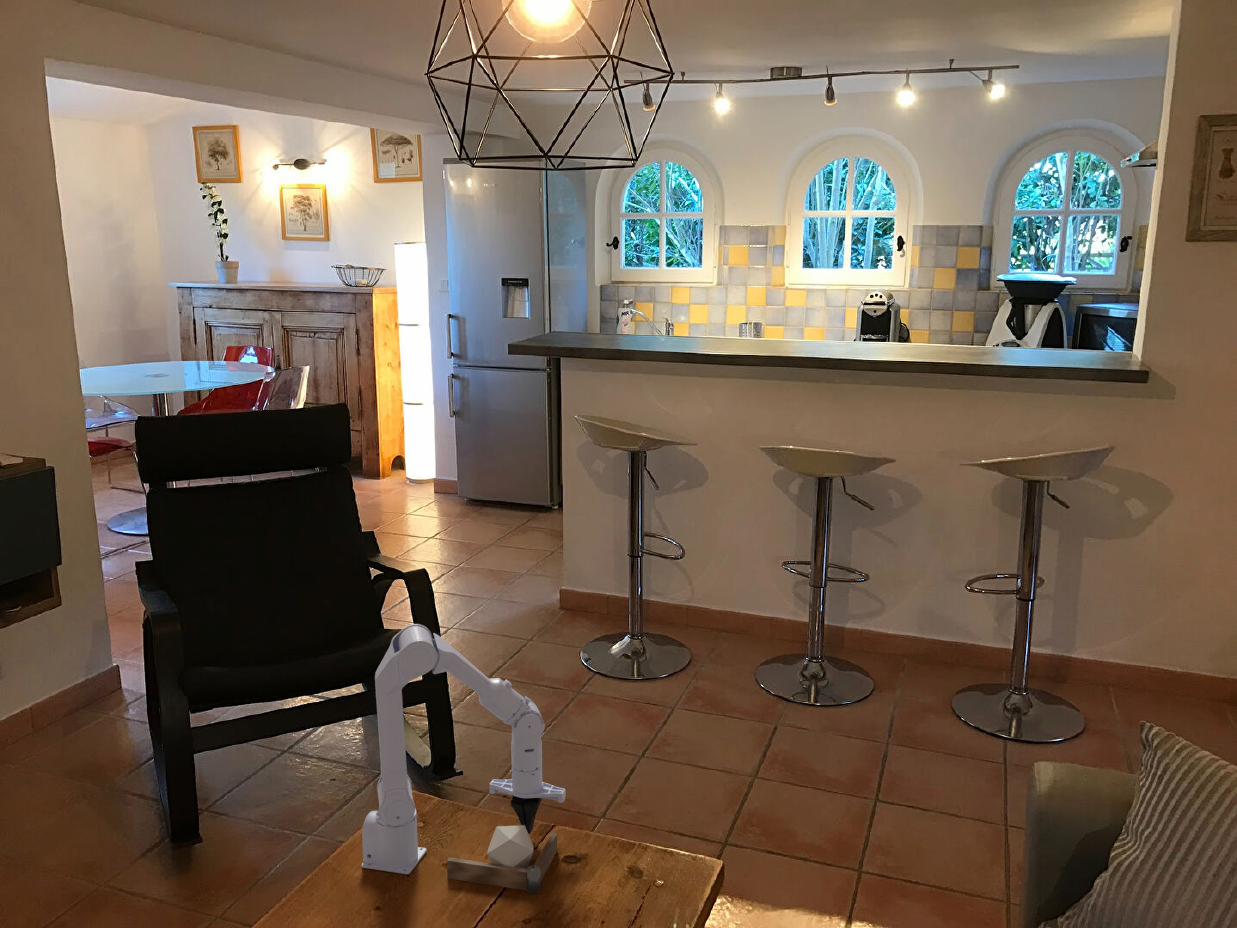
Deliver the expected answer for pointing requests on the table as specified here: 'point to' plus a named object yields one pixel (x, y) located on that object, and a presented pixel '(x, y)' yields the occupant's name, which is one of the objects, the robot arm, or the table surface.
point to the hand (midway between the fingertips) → (528, 830)
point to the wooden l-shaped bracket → (505, 870)
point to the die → (511, 846)
